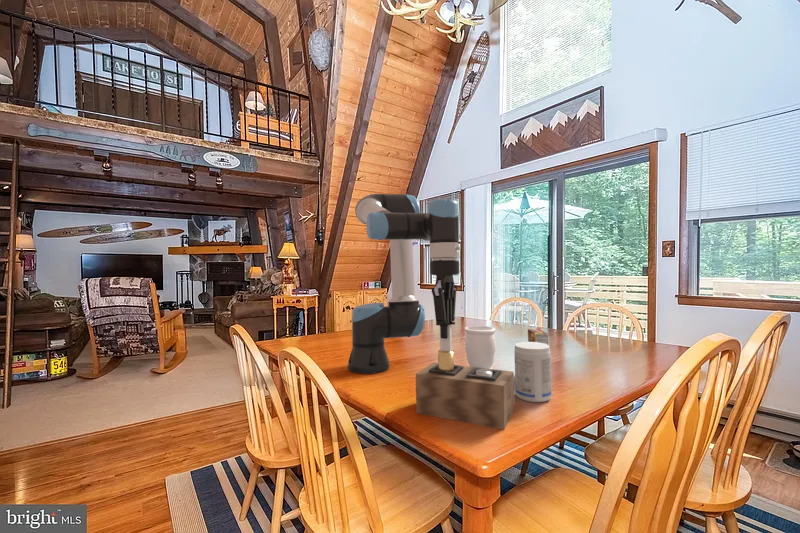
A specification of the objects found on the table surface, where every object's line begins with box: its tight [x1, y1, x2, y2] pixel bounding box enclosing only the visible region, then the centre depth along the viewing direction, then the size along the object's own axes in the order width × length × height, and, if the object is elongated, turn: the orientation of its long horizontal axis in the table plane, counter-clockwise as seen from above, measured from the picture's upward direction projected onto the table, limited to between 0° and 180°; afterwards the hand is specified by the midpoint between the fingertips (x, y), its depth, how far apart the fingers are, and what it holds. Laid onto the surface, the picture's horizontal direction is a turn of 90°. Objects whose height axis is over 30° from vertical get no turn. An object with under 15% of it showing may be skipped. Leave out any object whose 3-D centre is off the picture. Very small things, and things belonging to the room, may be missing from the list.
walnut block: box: [415, 362, 515, 430], centre depth 95 cm, size 22×12×11 cm, turn 63°
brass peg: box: [437, 349, 455, 372], centre depth 97 cm, size 4×4×10 cm
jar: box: [464, 325, 497, 369], centre depth 131 cm, size 11×10×15 cm
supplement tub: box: [513, 341, 552, 403], centre depth 105 cm, size 10×10×15 cm
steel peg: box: [476, 369, 493, 377], centre depth 93 cm, size 4×4×10 cm
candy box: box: [527, 328, 549, 345], centre depth 123 cm, size 9×4×15 cm, turn 177°
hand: (446, 350), depth 97 cm, fingers closed
